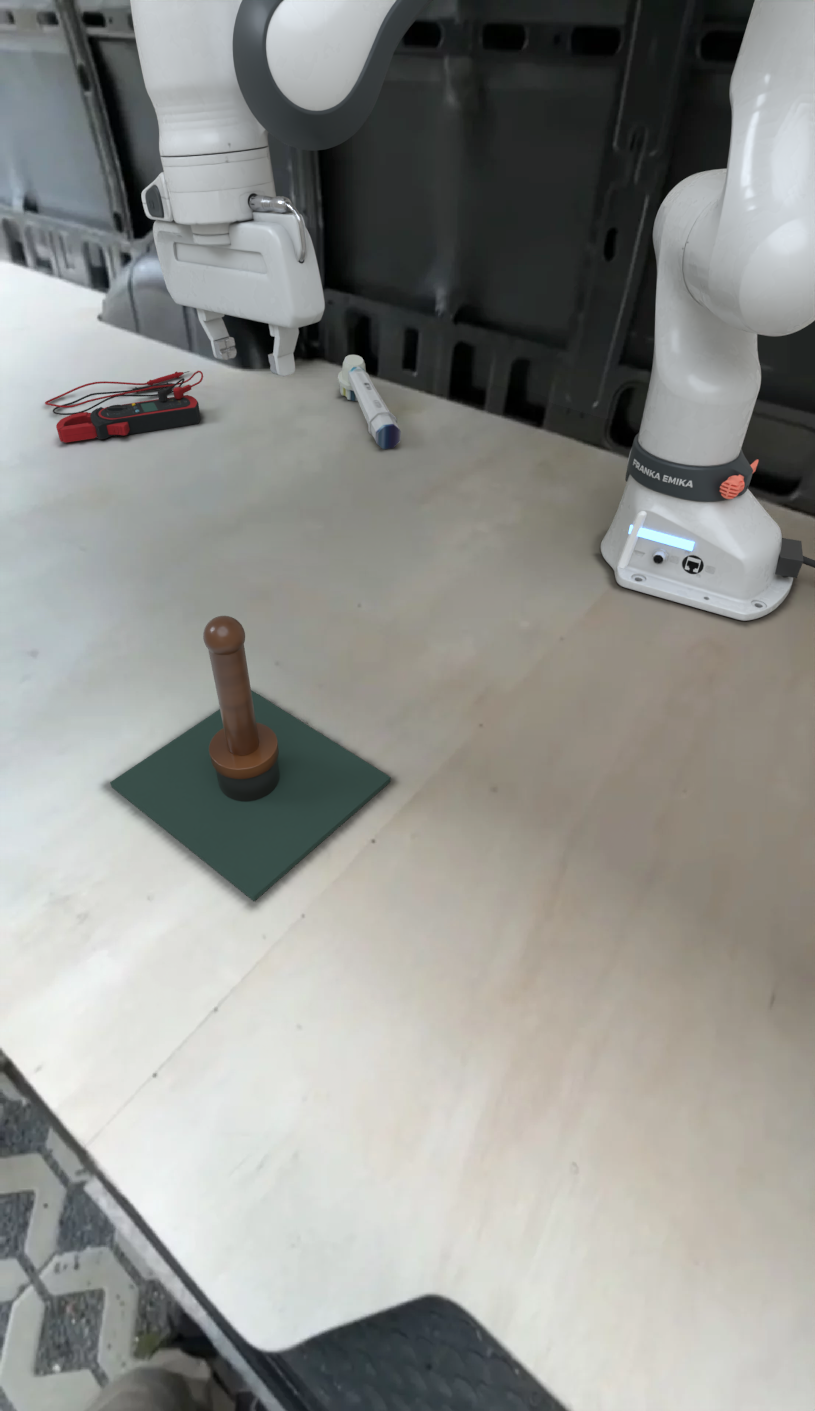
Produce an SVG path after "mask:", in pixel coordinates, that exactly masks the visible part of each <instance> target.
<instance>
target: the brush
mask: <svg viewBox="0 0 815 1411" xmlns="http://www.w3.org/2000/svg"><path fill="white" fill-rule="evenodd" d="M202 639H203V643H204V645H205V646H206V648H207V650H208V654H209V659H210V665H211V670H212V675H213V680H214V685H215V691H216V695H217V701H218V706H219V709H220V712H221V717H222V722H223V727H224V728H223V729H221V730H220V731H219V732H217V733H216V734H215V736H214V737H213V738H212V740H211V742H210V745H209V753H210V758H211V762H212V765H213V767H214V768H215V770H216V774H217V778H218V783H219V787H220V789H221V791H222V792H223V793H224V794H225V795H226V796H227V797H229V798H231V799H233V800H237V801H254V800H258V799H261V798H263V797H265V796H267V795H268V794H270V793H271V792H272V791H273V790H274V789H275V788H276V786H277V784H278V782H279V778H280V774H279V766H278V759H277V758H278V754H279V749H278V741H277V737H276V735H275V733H274V732H273V731H272V730H271V729H270V728H269V727H267V726H266V725H263V724H261V723H257V722H256V719H255V712H254V706H253V700H252V693H251V690H252V688H251V682H250V674H249V668H248V662H247V654H246V649H245V642H246V632H245V629H244V626H243V625H242V624H241V622H240V621H239V620H237V619H236V618H235V617H233V616H229V615H219V616H216V617H214V618H211V620H209V621H208V622H207V624H205V627H204V629H203V634H202Z"/></svg>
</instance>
